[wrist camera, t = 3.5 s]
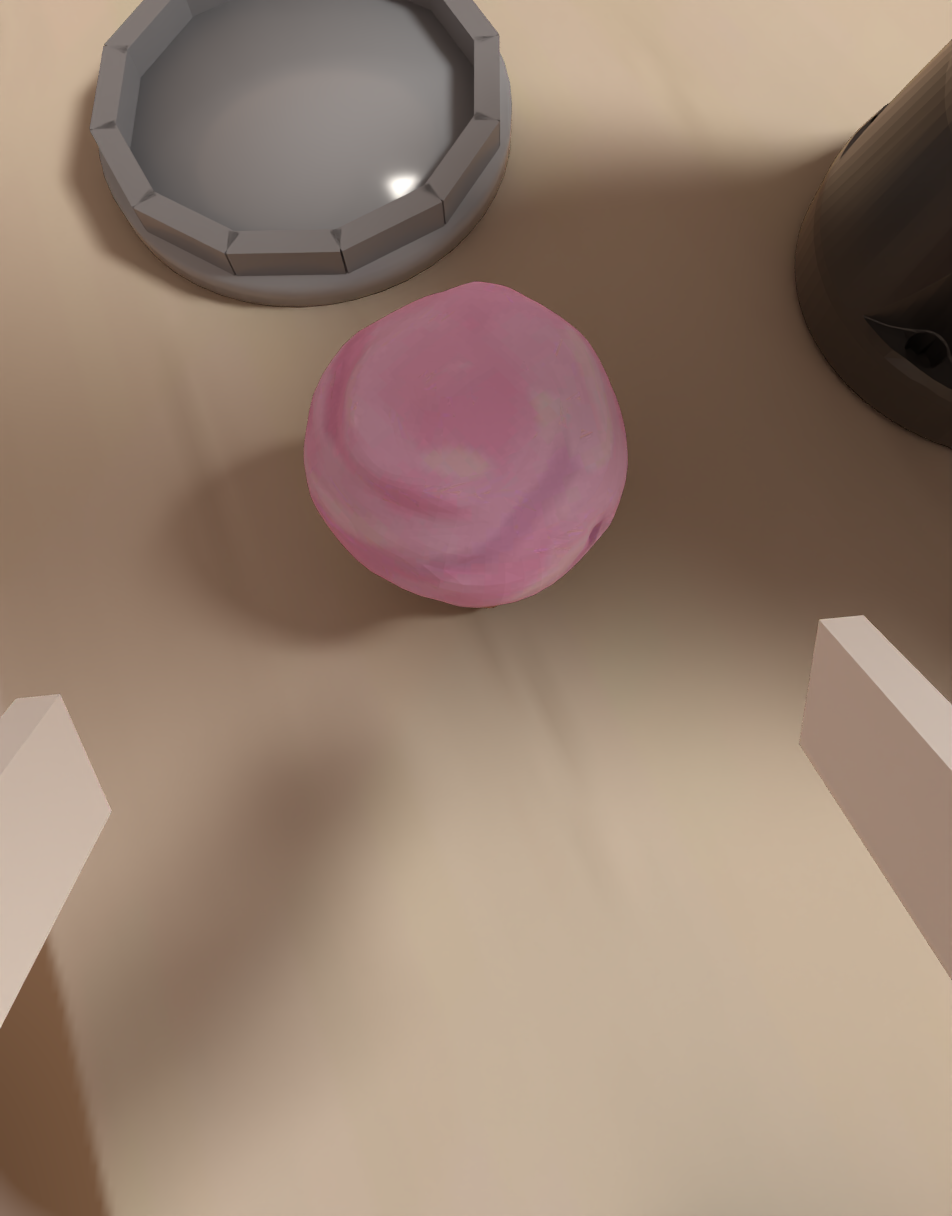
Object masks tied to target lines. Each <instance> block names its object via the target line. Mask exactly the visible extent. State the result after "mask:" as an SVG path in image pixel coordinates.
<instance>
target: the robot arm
mask: <svg viewBox="0 0 952 1216" xmlns="http://www.w3.org/2000/svg"><path fill="white" fill-rule="evenodd" d="M795 277H796V287H797V292H798V298H799V302H800V305H801V309H802V312H803V315H804V318H805V321H806V323H807V325H808V328H809V330H810V332H811V334H812V336H813V338H814V340H815V342H816V344H817V345H818V347H819V349H820V350H821V352H822V353H823V355H824V356H825V358H826V359H827V361H828V362H829V363H830V365H831V366H832V367H833V369H834V370H835V371H836V372H837V373H838V375H839V376H840V377H841V378H842V379H843V380H844V381H845V382H846V383H847V384H848V385H849V386H850V387H851V389H852V390H853V391H854V392H856V393H857V394H858V395H859V396H860V397H861V398H862V399H864V400H865V401H866V402H867V403H868V404H870V405H871V406H872V407H874V408H875V409H876V410H877V411H879V412H880V413H882V414H883V415H885V416H886V417H888V418H889V419H891V420H892V421H894V422H896V423H897V424H899V425H901V426H902V427H904V428H906V429H908V430H910V431H912V432H914V433H916V434H918V435H920V436H922V437H924V438H927V439H929V440H931V441H934V442H936V443H939V444H942V445H945V446H948V447H950V448H952V40H951V41H950V42H949V43H948V44H947V45H946V46H945V47H944V48H943V49H942V50H941V51H940V52H939V53H938V54H937V55H936V56H935V57H934V58H933V59H932V60H931V61H930V62H929V63H928V64H927V65H926V66H925V67H924V68H923V69H922V70H921V71H920V72H919V73H918V74H917V75H916V76H915V77H914V78H913V79H912V80H911V81H910V82H909V83H908V84H907V85H906V87H905V88H904V89H903V90H902V91H901V92H900V93H899V94H898V95H897V96H896V97H895V98H894V99H893V100H892V101H891V102H890V103H889V104H887V105H885V106H884V107H883V108H882V109H881V110H880V111H878V112H877V113H876V114H875V115H874V116H873V117H872V118H870V119H869V120H868V121H867V122H866V123H865V124H864V125H863V126H862V127H861V128H859V129H858V130H857V132H856V133H855V134H854V135H853V136H852V137H851V138H850V139H849V141H848V142H847V143H846V145H845V146H844V147H843V149H842V150H841V151H840V153H839V154H838V155H837V157H836V158H835V160H834V162H833V163H832V165H831V167H830V168H829V170H828V172H827V174H826V176H825V178H824V180H823V182H822V184H821V186H820V188H819V190H818V191H817V193H816V195H815V197H814V199H813V201H812V203H811V205H810V207H809V209H808V211H807V213H806V215H805V218H804V220H803V223H802V226H801V229H800V233H799V236H798V241H797V247H796V256H795ZM799 745H800V746H801V748H802V749H803V751H804V753H805V754H806V756H807V757H808V759H809V760H810V762H811V763H812V765H813V766H814V768H815V770H816V771H817V773H818V774H819V776H820V777H821V779H822V780H823V782H824V783H825V785H826V787H827V788H828V790H829V791H830V793H831V794H832V796H833V797H834V799H835V800H836V802H837V804H838V805H839V807H840V808H841V810H842V811H843V813H844V814H845V816H846V817H847V819H848V821H849V822H850V824H851V825H852V827H853V828H854V830H855V831H856V833H857V834H858V836H859V838H860V839H861V841H862V842H863V844H864V845H865V847H866V848H867V850H868V851H869V853H870V855H871V856H872V858H873V859H874V861H875V862H876V864H877V865H878V867H879V868H880V870H881V872H882V873H883V875H884V876H885V878H886V879H887V881H888V882H889V884H890V885H891V887H892V889H893V890H894V892H895V893H896V895H897V896H898V898H899V899H900V901H901V902H902V904H903V906H904V907H905V909H906V910H907V912H908V913H909V915H910V916H911V918H912V919H913V921H914V923H915V924H916V926H917V927H918V929H919V930H920V932H921V933H922V935H923V936H924V938H925V940H926V941H927V943H928V944H929V946H930V947H931V949H932V950H933V952H934V953H935V955H936V957H937V958H938V960H939V961H940V963H941V964H942V966H943V967H944V969H945V970H946V972H947V973H948V975H949V977H950V978H951V980H952V704H951V703H950V702H949V701H948V700H947V699H946V698H945V697H944V696H943V695H942V694H941V693H940V692H939V691H938V690H937V689H936V688H935V687H934V686H933V685H932V684H931V683H930V682H929V681H928V680H927V679H926V678H925V677H924V676H923V675H922V674H921V673H920V672H919V671H918V670H917V669H916V668H915V667H914V666H913V665H912V664H911V663H910V662H909V661H908V660H907V659H906V658H905V657H904V656H903V655H902V654H901V653H900V652H899V651H898V650H897V649H896V648H895V647H894V646H893V645H892V644H891V643H890V642H889V641H888V640H887V638H886V637H885V636H884V635H883V634H882V633H881V632H880V631H879V630H878V629H877V628H876V627H875V626H874V625H873V624H872V623H871V622H870V621H869V620H868V619H867V618H866V617H865V616H864V615H859V616H849V617H839V618H829V619H819V622H818V629H817V635H816V641H815V647H814V654H813V660H812V666H811V672H810V679H809V685H808V691H807V697H806V704H805V710H804V716H803V722H802V729H801V735H800V741H799ZM111 812H112V811H111V808H110V806H109V804H108V801H107V799H106V797H105V795H104V792H103V790H102V788H101V786H100V783H99V781H98V779H97V776H96V774H95V772H94V770H93V767H92V765H91V763H90V761H89V758H88V756H87V754H86V752H85V749H84V747H83V745H82V742H81V740H80V738H79V736H78V733H77V731H76V729H75V727H74V724H73V722H72V720H71V717H70V715H69V713H68V711H67V708H66V706H65V704H64V702H63V699H62V697H61V695H60V694H54V695H44V696H34V697H24V698H16V699H15V700H14V701H13V702H12V704H11V705H10V706H9V707H8V709H7V710H6V711H5V712H4V714H3V715H2V716H1V717H0V1028H1V1026H2V1024H3V1022H4V1020H5V1018H6V1016H7V1014H8V1012H9V1010H10V1008H11V1006H12V1004H13V1002H14V1001H15V998H16V997H17V995H18V993H19V991H20V989H21V987H22V985H23V983H24V981H25V979H26V977H27V975H28V973H29V971H30V969H31V967H32V965H33V963H34V962H35V959H36V958H37V956H38V954H39V952H40V950H41V948H42V946H43V944H44V942H45V940H46V938H47V936H48V934H49V933H50V931H51V929H52V927H53V925H54V923H55V921H56V919H57V917H58V915H59V913H60V911H61V909H62V907H63V905H64V903H65V901H66V899H67V898H68V896H69V894H70V892H71V890H72V888H73V886H74V884H75V882H76V880H77V878H78V876H79V874H80V872H81V870H82V868H83V866H84V865H85V863H86V861H87V859H88V857H89V855H90V853H91V851H92V849H93V847H94V845H95V843H96V841H97V839H98V837H99V835H100V833H101V831H102V830H103V828H104V826H105V824H106V822H107V820H108V818H109V816H110V814H111Z"/></svg>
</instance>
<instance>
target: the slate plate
mask: <svg viewBox="0 0 952 1216" xmlns="http://www.w3.org/2000/svg"><path fill="white" fill-rule="evenodd" d="M104 45H105V46H103V52H102V58H101V64H100V70H99V76H98V82H97V88H96V94H95V100H94V106H93V112H92V118H91V124H90V132H91V134H92V135H93V137H94V139H95V141H96V143H97V144H98V146H99V156H100V161H101V164H102V168H103V172H104V176H105V179H106V182H107V184H108V186H109V188H110V191H111V193H112V195H113V197H114V199H115V201H116V202H117V204H118V206H119V207H120V209H121V210H122V212H123V214H124V215H125V217H126V218H127V220H128V222H129V223H130V225H131V226H132V228H133V229H134V231H135V232H136V234H137V235H138V237H139V238H140V240H141V241H142V242H143V243H144V244H145V245H146V246H147V247H148V249H149V250H150V251H151V252H152V253H153V254H154V255H155V256H156V257H157V258H158V259H159V260H161V261H162V262H163V263H164V264H166V265H167V266H168V267H169V268H171V269H172V270H173V271H174V272H176V273H178V274H179V275H181V276H183V277H184V278H186V279H188V280H189V281H191V282H193V283H194V284H196V285H199V286H201V287H203V288H206V289H208V290H210V291H213V292H215V293H217V294H220V295H223V296H227V297H230V298H234V299H237V300H241V301H245V302H251V303H257V304H263V305H270V306H291V307H303V306H317V305H328V304H334V303H339V302H344V301H350V300H355V299H358V298H361V297H365V296H368V295H371V294H374V293H378V292H381V291H383V290H386V289H388V288H390V287H393V286H395V285H397V284H399V283H402V282H404V281H406V280H408V279H410V278H412V277H413V276H415V275H417V274H419V273H420V272H422V271H424V270H425V269H427V268H429V267H430V266H432V265H433V264H434V263H436V262H437V261H438V260H440V259H441V258H442V257H444V256H445V255H446V254H448V253H449V252H450V251H452V250H453V249H454V248H455V247H456V246H457V245H458V244H459V243H460V242H461V241H462V240H463V239H464V238H465V237H466V236H467V235H468V234H469V233H470V232H471V231H472V229H473V228H474V227H475V225H476V224H477V223H478V222H479V220H480V219H481V218H482V217H483V215H484V214H485V212H486V211H487V209H488V207H489V206H490V204H491V202H492V200H493V199H494V197H495V195H496V194H497V191H498V189H499V186H500V184H501V181H502V179H503V176H504V174H505V170H506V166H507V162H508V157H509V153H510V143H511V124H512V100H511V90H510V82H509V78H508V74H507V70H506V67H505V63H504V60H503V58H502V56H501V54H500V52H499V34H498V32H497V31H496V30H495V29H494V27H493V26H492V25H491V23H490V22H489V21H488V19H487V18H486V17H485V16H484V14H483V13H482V12H481V10H480V9H479V8H478V7H477V5H476V4H475V3H474V1H473V0H143V1H142V2H141V4H140V5H139V6H138V7H137V8H136V9H135V10H134V11H133V13H132V14H131V15H130V16H129V17H128V18H127V19H126V20H125V22H124V23H123V24H122V25H121V26H120V27H119V28H118V29H117V31H116V32H115V33H114V34H113V35H112V36H111V37H110V39H109V40H108V41H107V42H106V43H105V44H104Z"/></svg>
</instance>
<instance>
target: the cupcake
mask: <svg viewBox="0 0 952 1216" xmlns="http://www.w3.org/2000/svg"><path fill="white" fill-rule="evenodd" d="M304 466H305V471H306V478H307V484H308V487H309V492H310V496H311V498H312V500H313V502H314V505H315V507H316V509H317V510H318V512H319V514H320V515H321V517H322V518H323V520H324V521H325V523H326V524H327V526H328V527H329V528H330V530H331V531H332V532H333V534H334V535H335V536H336V538H337V539H338V540H339V541H340V542H341V544H342V545H343V546H344V547H345V548H346V549H347V550H348V551H349V552H350V553H351V554H352V555H353V556H354V558H355V559H356V560H357V561H359V562H360V563H361V564H362V565H364V566H365V567H366V568H368V569H369V570H370V571H371V572H373V573H375V574H377V575H379V576H380V577H382V578H384V579H386V580H388V581H389V582H391V583H393V584H395V585H397V586H399V587H400V588H402V589H405V590H407V591H410V592H412V593H415V594H417V595H420V596H423V597H427V598H431V599H435V600H439V601H443V602H446V603H449V604H452V605H456V606H460V607H475V608H480V607H484V608H494V607H496V606H498V605H502V604H508V603H513V602H517V601H519V600H522V599H525V598H527V597H530V596H532V595H535V594H537V593H538V592H540V591H542V590H544V589H545V588H547V587H549V586H551V585H552V584H554V583H555V582H556V581H557V580H559V579H560V578H561V577H562V576H564V575H565V574H566V573H567V572H568V571H569V570H570V569H571V568H572V567H573V566H574V565H576V564H577V563H578V562H579V561H580V560H581V558H582V557H583V556H584V555H585V554H586V553H587V552H588V551H589V550H590V548H591V547H592V546H593V545H594V544H595V543H596V541H597V540H598V539H599V538H600V537H601V535H602V534H603V533H604V532H605V531H606V529H607V528H608V527H609V526H610V524H611V522H612V520H613V518H614V516H615V513H616V510H617V508H618V505H619V502H620V499H621V496H622V493H623V489H624V486H625V482H626V475H627V468H628V452H627V439H626V432H625V425H624V422H623V418H622V414H621V410H620V407H619V404H618V401H617V398H616V395H615V393H614V391H613V389H612V386H611V384H610V381H609V378H608V376H607V374H606V372H605V370H604V368H603V366H602V364H601V362H600V360H599V358H598V356H597V354H596V352H595V351H594V349H593V348H592V346H591V345H590V343H589V342H588V341H587V340H586V338H585V337H584V336H583V335H582V334H581V333H580V332H579V331H578V330H577V329H576V328H574V327H573V326H572V325H571V324H569V323H568V322H567V321H566V320H564V319H563V318H561V317H560V316H558V315H557V314H556V313H554V312H553V311H551V310H549V309H548V308H546V307H544V306H543V305H541V304H540V303H538V302H536V301H534V300H532V299H530V298H528V297H526V296H524V295H523V294H521V293H519V292H517V291H515V290H513V289H511V288H509V287H506V286H503V285H499V284H492V283H486V282H478V281H475V282H470V283H466V284H463V285H460V286H457V287H454V288H451V289H449V290H446V291H444V292H440V293H435V294H432V295H429V296H425V297H423V298H421V299H418V300H416V301H414V302H412V303H410V304H408V305H406V306H404V307H402V308H400V309H398V310H396V311H394V312H392V313H390V314H388V315H387V316H385V317H383V318H382V319H380V320H378V321H376V322H374V323H373V324H371V325H369V326H367V327H366V328H364V329H362V330H360V331H358V332H357V333H356V334H355V335H354V336H353V337H352V338H351V339H349V340H348V341H347V342H346V343H345V344H344V345H343V346H342V347H341V349H340V350H339V351H338V353H337V354H336V355H335V356H334V358H333V359H332V360H331V362H330V364H329V365H328V367H327V368H326V370H325V371H324V373H323V374H322V376H321V379H320V381H319V383H318V385H317V387H316V390H315V392H314V394H313V398H312V402H311V406H310V410H309V416H308V423H307V428H306V435H305V442H304Z"/></svg>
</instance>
